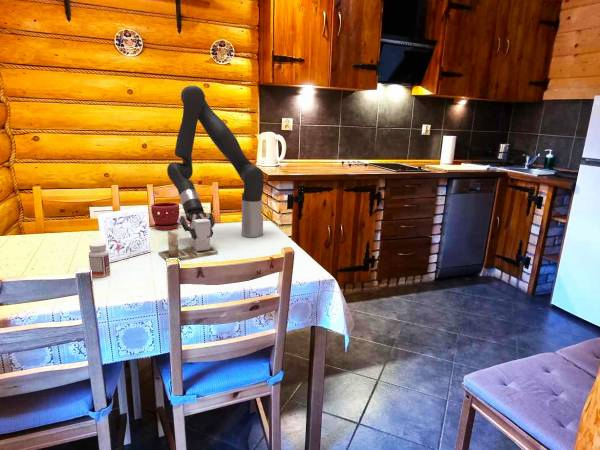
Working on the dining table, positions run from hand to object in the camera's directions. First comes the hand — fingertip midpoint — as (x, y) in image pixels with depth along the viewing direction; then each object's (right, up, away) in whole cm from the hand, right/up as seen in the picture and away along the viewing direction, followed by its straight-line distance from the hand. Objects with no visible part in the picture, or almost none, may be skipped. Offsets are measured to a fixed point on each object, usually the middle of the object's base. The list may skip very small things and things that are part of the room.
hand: (203, 237), depth 164 cm
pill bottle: (-31, -13, -22) cm, 40 cm away
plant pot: (-28, +3, +39) cm, 48 cm away
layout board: (-6, -8, 0) cm, 10 cm away
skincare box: (-1, -5, +3) cm, 6 cm away
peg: (-11, -7, -4) cm, 14 cm away
